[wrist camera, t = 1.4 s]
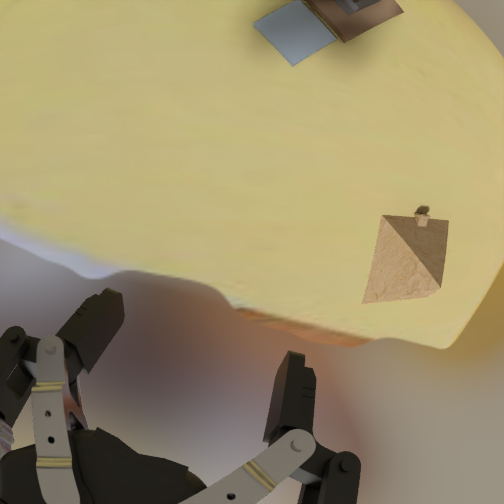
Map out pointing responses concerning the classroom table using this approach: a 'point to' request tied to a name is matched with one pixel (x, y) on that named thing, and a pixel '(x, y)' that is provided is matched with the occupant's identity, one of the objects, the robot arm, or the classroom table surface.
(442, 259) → the model pyramid
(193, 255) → the classroom table surface
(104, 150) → the classroom table surface
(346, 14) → the square socket base
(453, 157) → the classroom table surface
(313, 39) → the pad
